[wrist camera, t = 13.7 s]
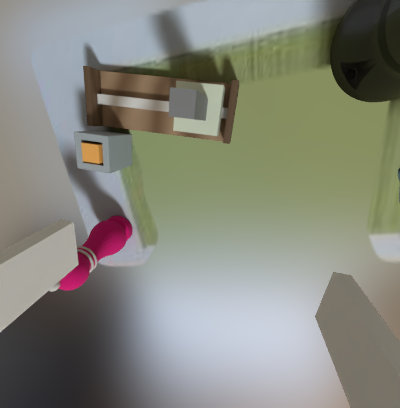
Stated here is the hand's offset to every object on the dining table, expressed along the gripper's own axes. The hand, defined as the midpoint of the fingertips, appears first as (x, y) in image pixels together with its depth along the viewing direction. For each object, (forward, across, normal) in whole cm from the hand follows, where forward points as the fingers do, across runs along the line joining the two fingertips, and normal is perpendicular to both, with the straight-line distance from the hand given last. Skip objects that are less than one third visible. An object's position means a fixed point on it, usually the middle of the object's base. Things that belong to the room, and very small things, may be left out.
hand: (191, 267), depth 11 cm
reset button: (+29, +22, 0) cm, 37 cm away
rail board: (+32, +12, -8) cm, 35 cm away
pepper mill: (+32, +22, +18) cm, 43 cm away
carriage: (+29, +5, -9) cm, 30 cm away
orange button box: (+32, +22, 0) cm, 39 cm away
